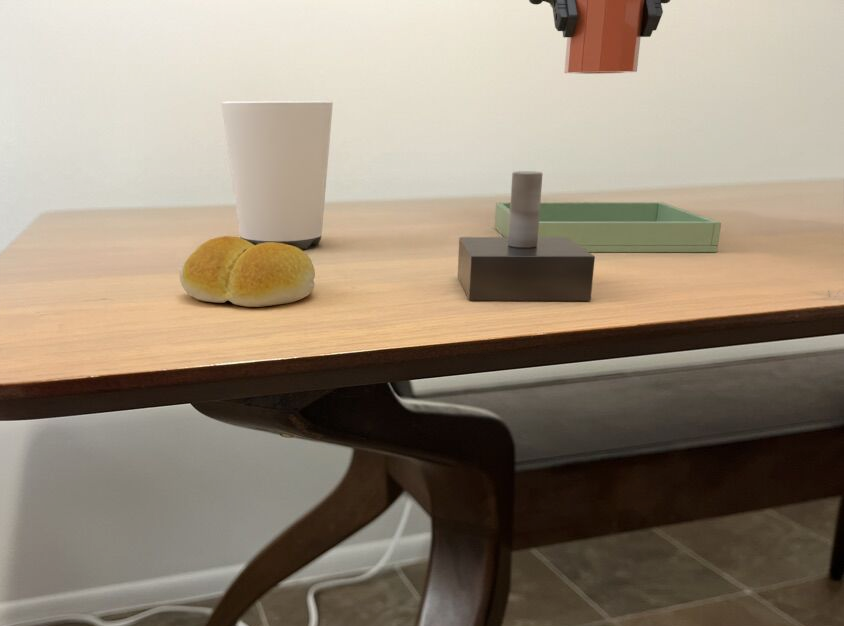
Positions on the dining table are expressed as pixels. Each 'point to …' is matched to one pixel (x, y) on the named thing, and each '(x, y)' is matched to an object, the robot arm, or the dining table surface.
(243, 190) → the cup
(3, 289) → the dining table surface
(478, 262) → the ring holder
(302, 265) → the bread roll
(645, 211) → the tray
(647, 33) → the robot arm
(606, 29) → the reddish-brown round cylinder
